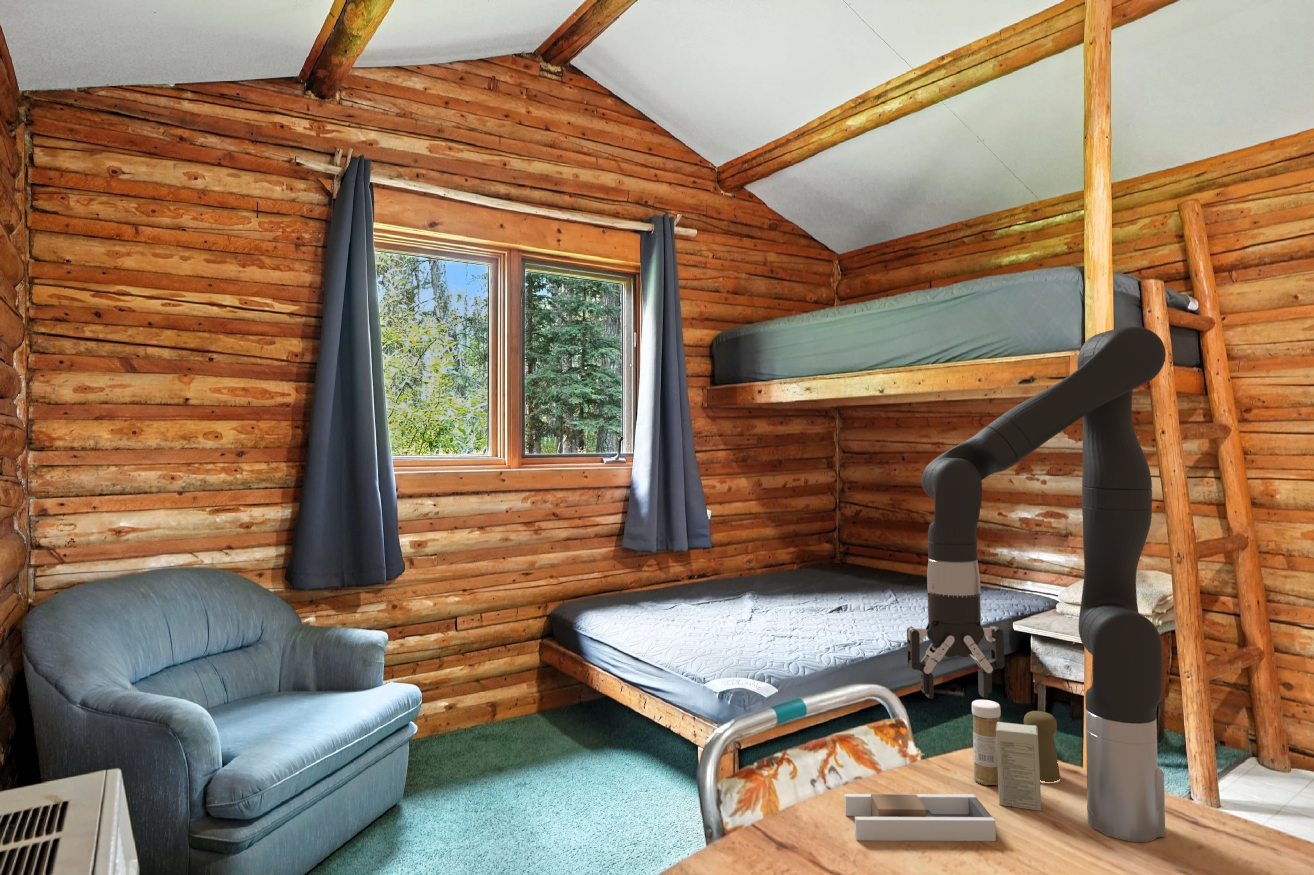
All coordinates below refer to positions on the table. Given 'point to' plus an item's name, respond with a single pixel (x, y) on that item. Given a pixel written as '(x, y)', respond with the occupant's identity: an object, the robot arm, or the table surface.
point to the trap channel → (925, 820)
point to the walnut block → (896, 805)
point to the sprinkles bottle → (985, 741)
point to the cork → (1045, 744)
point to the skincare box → (1018, 765)
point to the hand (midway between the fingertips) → (956, 696)
